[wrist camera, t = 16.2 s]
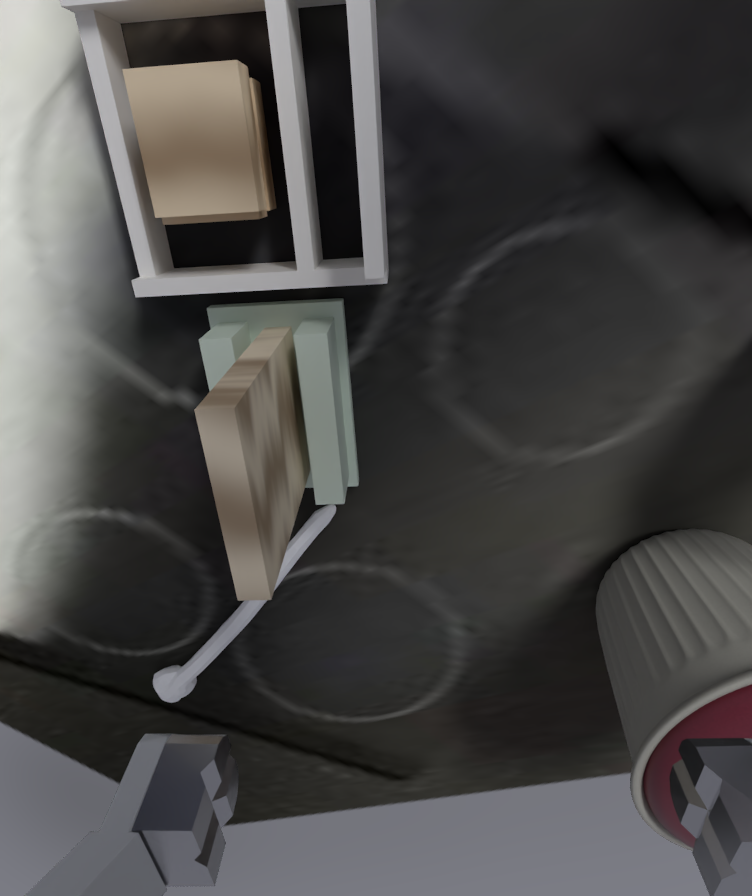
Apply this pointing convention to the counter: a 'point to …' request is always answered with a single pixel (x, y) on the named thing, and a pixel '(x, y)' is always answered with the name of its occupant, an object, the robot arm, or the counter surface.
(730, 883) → the robot arm
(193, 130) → the offcut stack
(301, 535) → the white ladle
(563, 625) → the counter surface
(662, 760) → the canister
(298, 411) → the birch panel
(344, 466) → the holder
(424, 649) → the counter surface
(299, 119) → the rack
